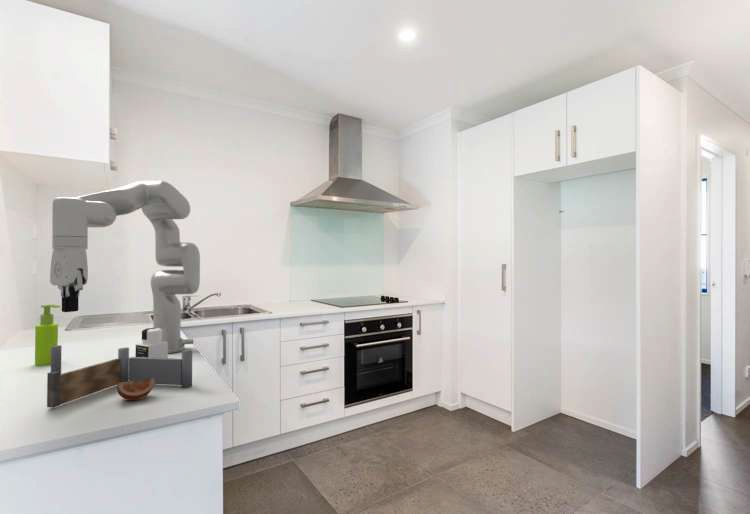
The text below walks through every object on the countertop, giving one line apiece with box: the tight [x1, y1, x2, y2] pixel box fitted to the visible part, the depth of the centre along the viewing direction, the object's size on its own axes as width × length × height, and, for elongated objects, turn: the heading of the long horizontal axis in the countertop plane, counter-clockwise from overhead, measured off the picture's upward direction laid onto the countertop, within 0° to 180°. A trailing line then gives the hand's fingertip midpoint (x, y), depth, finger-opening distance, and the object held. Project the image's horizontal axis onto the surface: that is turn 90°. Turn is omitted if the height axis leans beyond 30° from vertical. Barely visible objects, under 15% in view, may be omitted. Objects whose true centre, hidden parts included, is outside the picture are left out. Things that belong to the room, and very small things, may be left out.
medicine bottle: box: [135, 327, 169, 358], centre depth 133 cm, size 7×7×12 cm
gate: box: [46, 358, 120, 409], centre depth 100 cm, size 18×2×8 cm, turn 167°
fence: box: [50, 344, 193, 389], centre depth 111 cm, size 44×3×10 cm, turn 83°
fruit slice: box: [116, 378, 156, 401], centre depth 98 cm, size 8×7×5 cm
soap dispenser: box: [34, 304, 61, 367], centre depth 133 cm, size 6×7×20 cm
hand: (70, 311), depth 105 cm, fingers closed
